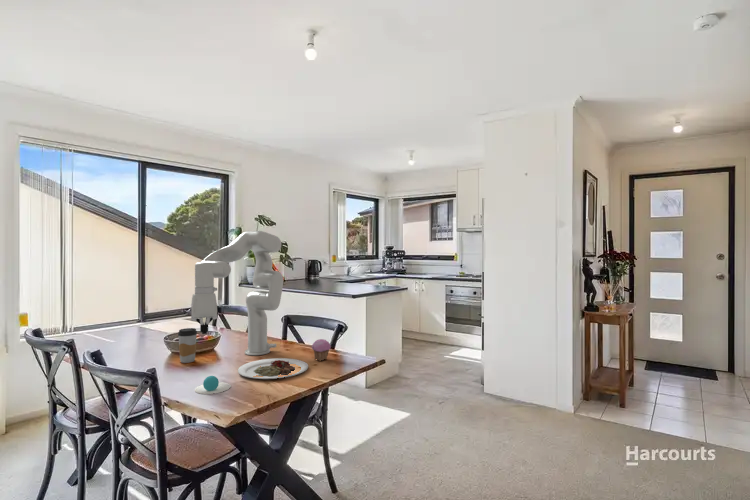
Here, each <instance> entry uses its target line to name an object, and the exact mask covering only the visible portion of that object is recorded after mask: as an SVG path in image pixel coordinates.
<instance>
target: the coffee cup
mask: <svg viewBox="0 0 750 500" xmlns="http://www.w3.org/2000/svg"><path fill="white" fill-rule="evenodd" d="M197 334H198V331H197V329H196V328H195V327H187V328H181V329H179V330H178V333H177V335H178V336H177V337H178V352H179V353H178V354H179V361H180V363H182V364H186V363H187V364H188V363H193V362H195V360H196V351H197Z"/></svg>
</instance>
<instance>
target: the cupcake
mask: <svg viewBox="0 0 750 500" xmlns="http://www.w3.org/2000/svg"><path fill="white" fill-rule="evenodd" d="M311 349H312V351H313V356H314V360H315V359H317V360H322V361H325V360H324V359H326V360H327V358H328V355H329V352H330V351H329V350H331V343H330V342H329V341H328V340H327V339H324V338H320V339H316V340H315V341H314V342H313V343H312V345H311ZM317 360H316V361H317Z"/></svg>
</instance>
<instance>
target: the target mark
mask: <svg viewBox="0 0 750 500" xmlns="http://www.w3.org/2000/svg"><path fill="white" fill-rule="evenodd" d="M229 388H230V389H231V388H232V387H231V384H230V383H228V382H221V381H219V384H218V387H217V388H216V389H215V390H213V391H207V390H206V389H205V388H204V386H203V384H201V385H198V386H196V387H195V388H194V392H195V393H197V394H200V395H213V393H215V394H219V393H224V392H227V391H228V390H229ZM223 391H224V392H223Z"/></svg>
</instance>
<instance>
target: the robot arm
mask: <svg viewBox="0 0 750 500" xmlns="http://www.w3.org/2000/svg"><path fill="white" fill-rule="evenodd" d="M281 248H282V241H281V239H280V237H279V236H277V235H274V234H272V233H268V232H267V231H262V230H246V231H244V232H242V233H240V234H239V235H238V236H237V237H236V238H235V239H234V240H233V241H232V242H231V243H230V244H229V245H227V246H223V247H222V248H220V249H217V250H216V251H213V252H211V253H209V255H207V256H206V257H205V258H203V260H202V261H200V262H196V263H195V265H194V294H192V297H191V305H190V306H191V308H190V315H191V317H190V321H191V322H197V323H199V327H200V330H199V331H200V333H201V334H202V335H207V334H208V332H209V325H210V323H211V322H212V321H215V320H217V319H218V318H219V317H218V304H217V303H218V302H217V296H216V295H217V294H216V293H215V292H216V291H218V288H217V287H215V282H214V281H215V280H214V279H224V278H227V277H228V276H229V275H230V274H231V272H232V271H231V270H232V268H231V265H230V264H229V263H233V262H237V261H239V260H242V259H243V258H244V257H245V256H246V255H247V253H249V252H250V251H252V253H253V255H254V258H255V266H254V272H253V277H252V285H253V287H254V288H256V289H261V290H254V291H253V290H252V291H250V292H249V293H248V294H247V295H246V298H245V304H246V310H247V348H246V349H245V350H244V354H245V355H247V356H263V355H267V354H269V353H270V352H271V349H272V348H273V349H274V348H277V343H269V342H268V316H267V314H266V311H276V310H277V309H279V306H280V305H281V304H280V303H281V299H282V293H283V288H284V278H283V277H284V276H283V274H282V272H280V271H278V270H273V259H272V257H271V256H270V254H272V253H274V254H275V253H278V252H279V251H280V250H281ZM269 253H270V254H269ZM262 290H263V291H262ZM264 290H267V291H264ZM203 318H205V321H204V320H203Z"/></svg>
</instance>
